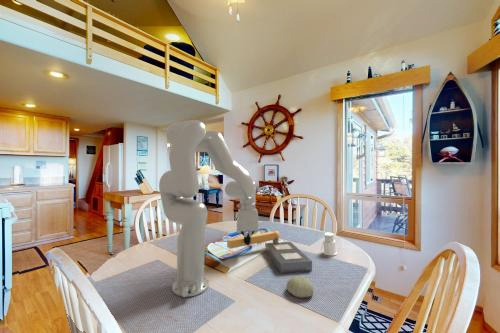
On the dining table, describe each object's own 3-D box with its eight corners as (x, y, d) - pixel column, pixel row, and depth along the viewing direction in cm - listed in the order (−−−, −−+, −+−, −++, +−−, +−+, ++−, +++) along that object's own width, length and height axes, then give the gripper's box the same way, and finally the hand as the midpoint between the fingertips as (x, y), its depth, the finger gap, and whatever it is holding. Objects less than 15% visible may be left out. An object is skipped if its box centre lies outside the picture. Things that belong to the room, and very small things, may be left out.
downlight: (335, 250, 117) (335, 231, 117) (339, 256, 110) (339, 236, 110) (320, 250, 117) (319, 231, 117) (323, 256, 110) (322, 236, 110)
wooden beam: (230, 249, 104) (230, 241, 104) (226, 246, 107) (226, 239, 107) (280, 238, 120) (280, 232, 120) (276, 236, 123) (276, 230, 123)
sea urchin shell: (292, 276, 85) (306, 266, 82) (305, 296, 82) (320, 287, 78) (279, 286, 78) (294, 275, 74) (293, 308, 75) (309, 299, 71)
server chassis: (311, 270, 94) (312, 259, 94) (280, 273, 91) (281, 262, 91) (286, 245, 123) (286, 237, 123) (262, 247, 120) (262, 238, 120)
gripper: (233, 208, 101) (232, 248, 102) (264, 207, 104) (264, 246, 105) (231, 205, 109) (230, 242, 109) (260, 204, 112) (260, 240, 112)
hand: (247, 244), depth 107 cm, fingers closed
